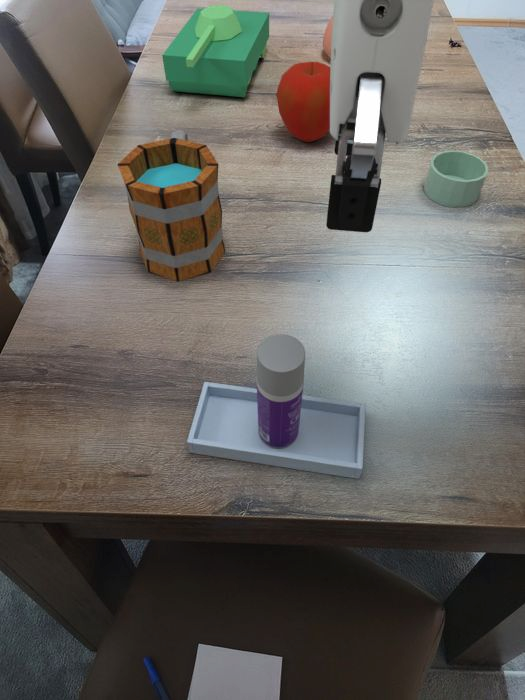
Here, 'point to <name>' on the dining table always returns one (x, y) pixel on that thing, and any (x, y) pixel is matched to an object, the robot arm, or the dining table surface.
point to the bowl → (455, 178)
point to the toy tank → (217, 51)
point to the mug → (175, 206)
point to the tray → (304, 454)
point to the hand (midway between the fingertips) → (351, 188)
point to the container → (279, 389)
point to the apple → (305, 100)
